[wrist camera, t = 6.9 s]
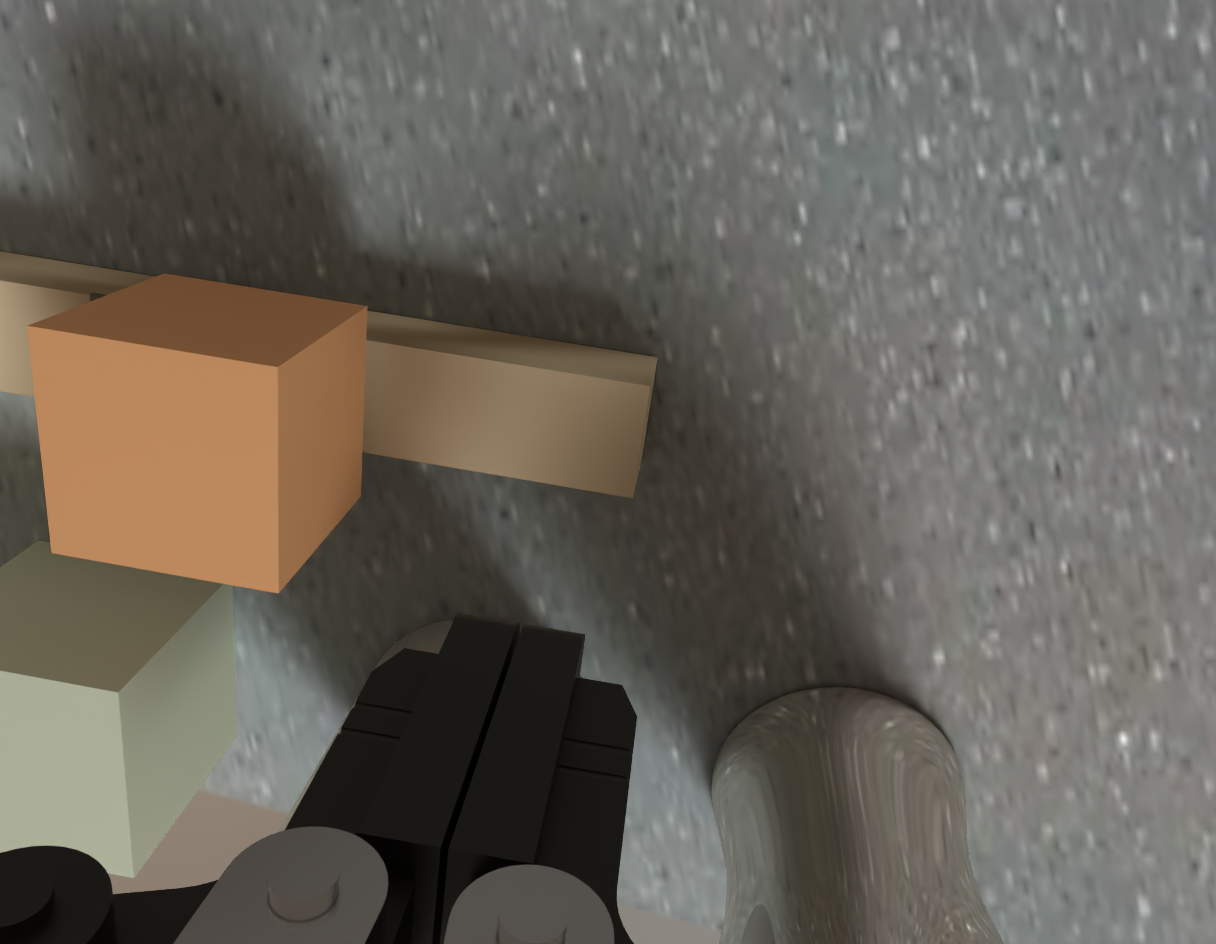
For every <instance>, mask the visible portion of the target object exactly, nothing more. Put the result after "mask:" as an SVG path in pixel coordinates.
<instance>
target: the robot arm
mask: <svg viewBox="0 0 1216 944" xmlns="http://www.w3.org/2000/svg"><path fill="white" fill-rule="evenodd" d="M584 641H585V634H579V633H573V632H567V631H561V630H556V629H550V628H544V627H538V626H532V625H526V624H524V625H523V627H522V630H521V633H520V624H519V623H513V622H507V621H501V620H496V619H490V618H484V617H478V616H472V615H466V614H460V613H459V614H457V616H456V617H455V619H454V621H453V623H452V625H451V628H450V630H449V632H448V634H447V636H446V639H445V641H444V643H443V645H442V647H441V649H440V652H439V654H437V653H431V652H425V651H419V650H413V649H408V648H404V649H402V650H401V651H400V652H398V653H397V654H396V655H394V656H393V657H391V658H390V659H389V660H387V661H386V662H384V663H383V664H382V665H380V666H379V667H377V668H376V669H375V670H373V671H372V673H371V674H370V676H369V678H368V680H367V682H366V684H365V685H364V687H363V689H362V691H361V693H360V694H359V696H358V698H357V700H356V703H355V707H354V708H352V709H351V711H350V713H349V714H348V716H347V718H346V720H345V722H344V723H343V725H342V728H341V732H340V734H339V733H338V734H337V736H336V738H335V740H334V741H333V743H332V745H331V747H330V749H329V751H328V752H327V754H326V756H325V758H324V760H323V761H322V763H321V765H320V767H319V769H318V770H317V772H316V774H315V776H314V778H313V780H312V781H311V783H310V785H309V787H308V789H307V790H306V792H305V794H304V796H303V798H302V799H301V801H300V803H299V805H298V807H297V809H296V810H295V812H294V814H293V816H292V818H291V819H290V821H289V823H288V825H287V827H286V828H285V830H284V831H281V832H278V833H275V834H272V835H270V836H267V837H265V838H263V839H261V840H259V841H257V842H255V843H254V844H252V845H251V846H249V847H248V848H247V849H245V850H244V851H243V852H241V853H240V854H239V855H238V856H237V857H236V858H235V859H234V860H233V861H232V862H231V864H230V865H229V866H228V867H227V868H226V870H225V871H224V873H223V874H222V875H221V877H220V878H219V880H216V881H213V882H209V883H206V884H202V885H198V886H192V887H185V888H177V889H166V890H155V891H144V892H133V893H122V894H113V892H112V885H111V881H110V878H109V875H108V873H107V871H106V869H105V868H104V867H103V866H102V865H101V864H100V863H99V861H97V860H96V859H94V858H93V857H91V856H90V855H88V854H86V853H84V852H81V851H79V850H76V849H72V848H67V847H61V846H49V845H48V846H31V847H24V848H18V849H13V850H10V851H6V852H2V853H0V944H634V943H633V942H632V940H631V939H630V938H629V936H628V934H627V932H626V930H625V928H624V927H623V924H622V921H621V919H620V916H619V913H618V907H617V883H618V875H619V866H620V858H621V849H622V841H623V832H624V824H625V815H626V807H627V798H628V789H629V780H630V772H631V764H632V754H633V747H634V738H635V730H636V721H637V716H636V713H635V711H634V709H633V707H632V705H631V703H630V701H629V699H628V696H627V694H626V692H625V690H624V688H623V686H622V685H618V684H612V683H607V682H601V681H595V680H589V679H583V678H579V676H580V669H581V662H582V655H583V648H584Z"/></svg>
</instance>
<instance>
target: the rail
mask: <svg viewBox="0 0 1216 944" xmlns="http://www.w3.org/2000/svg"><path fill="white" fill-rule="evenodd" d="M153 277H156V276H150V275H144V274H137V273H131V272H125V271H119V270H113V269H106V268H100V267H94V266H88V265H82V264H75V263H69V262H63V261H57V260H51V259H44V258H38V257H32V256H26V255H20V254H13V253H7V252H1V251H0V391H3V392H9V393H15V394H21V395H27V396H33V397H35V395H34V386H33V377H32V367H31V358H30V349H29V340H28V330H27V326H28V325H30V324H33V323H36V322H38V321H41V320H43V319H46V318H49V317H51V316H54V315H56V314H59V313H62V312H64V311H67V310H70V309H72V308H75V307H77V306H80V305H83V304H85V303H88V302H90V301H93V300H96V299H98V298H101V297H104V296H106V295H109V294H111V293H114V292H117V291H119V290H122V289H125V288H127V287H130V286H132V285H135V284H138V283H140V282H143V281H145V280H148V279H151V278H153ZM657 359H658V357H652V356H646V355H640V354H634V353H627V352H621V351H615V350H609V349H603V348H596V347H590V346H584V345H578V344H572V343H565V342H559V341H553V340H547V339H541V338H534V337H528V336H522V335H516V334H510V333H503V332H497V331H491V330H485V329H479V328H472V327H466V326H460V325H454V324H448V323H441V322H435V321H429V320H423V319H417V318H410V317H404V316H398V315H392V314H386V313H379V312H373V311H367V333H366V362H365V392H364V421H363V451H362V452H363V453H369V454H375V455H381V456H387V457H393V458H399V459H404V460H410V461H416V462H422V463H428V464H434V465H440V466H446V467H452V468H457V469H463V470H469V471H475V472H481V473H487V474H493V475H499V476H505V477H511V478H516V479H522V480H528V481H534V482H540V483H546V484H552V485H558V486H564V487H569V488H575V489H581V490H587V491H593V492H599V493H605V494H611V495H617V496H623V497H628V498H633V496H634V492H635V487H636V483H637V479H638V474H639V470H640V466H641V461H642V455H643V448H644V442H645V436H646V429H647V423H648V417H649V410H650V404H651V398H652V391H653V385H654V379H655V372H656V366H657Z"/></svg>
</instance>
